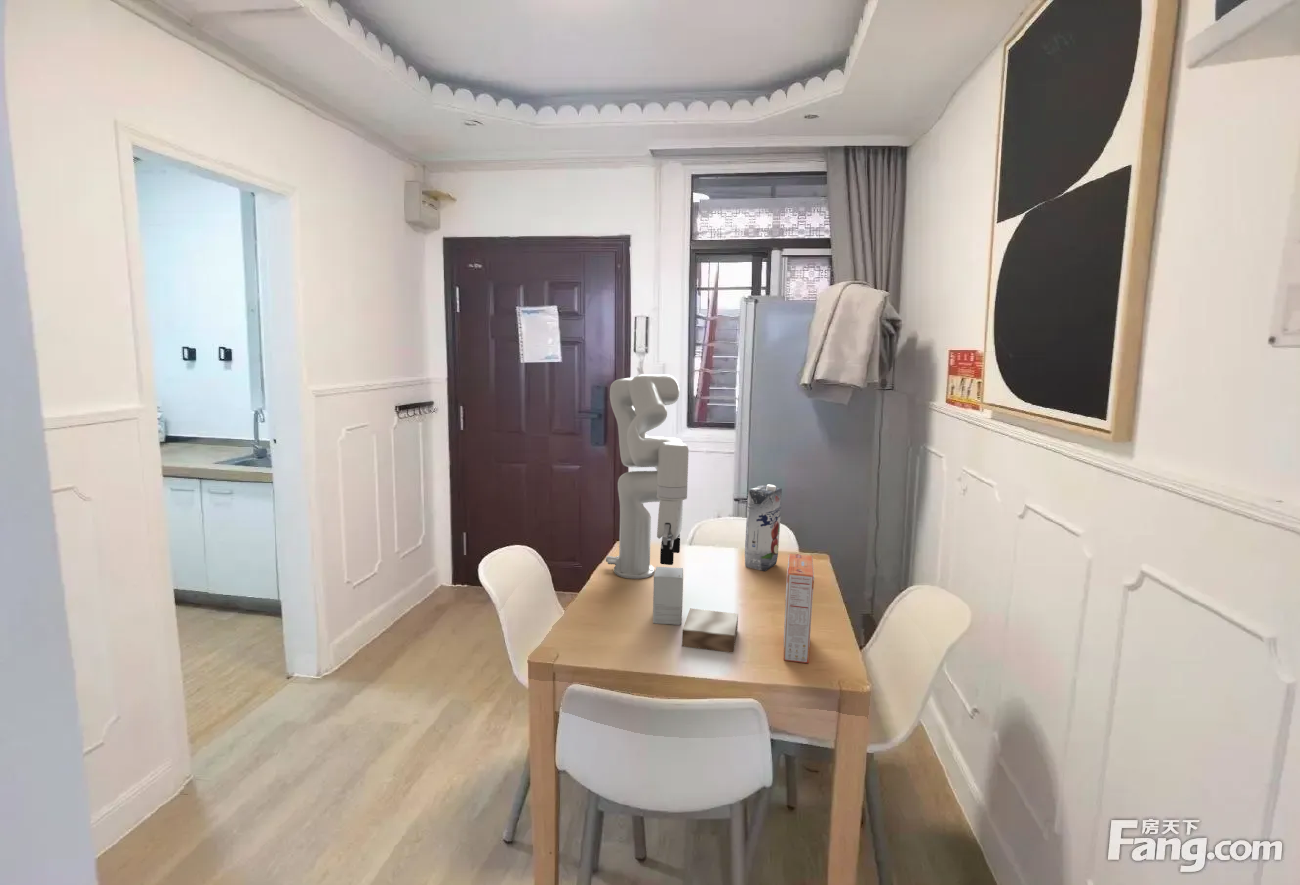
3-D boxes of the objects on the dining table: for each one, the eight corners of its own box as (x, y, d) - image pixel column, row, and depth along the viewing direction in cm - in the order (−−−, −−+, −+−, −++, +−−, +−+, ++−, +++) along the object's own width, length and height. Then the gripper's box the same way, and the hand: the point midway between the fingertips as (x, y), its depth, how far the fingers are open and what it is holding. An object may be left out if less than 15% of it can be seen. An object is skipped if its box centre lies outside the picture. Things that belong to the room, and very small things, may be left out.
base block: (681, 646, 146) (682, 629, 145) (689, 624, 158) (690, 608, 157) (733, 652, 144) (734, 635, 143) (737, 630, 155) (738, 613, 155)
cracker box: (782, 633, 154) (788, 552, 151) (808, 637, 153) (814, 555, 149) (781, 661, 140) (787, 572, 137) (809, 665, 139) (815, 575, 136)
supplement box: (682, 613, 164) (684, 567, 162) (681, 625, 157) (683, 577, 155) (654, 611, 165) (656, 565, 163) (651, 623, 157) (653, 575, 156)
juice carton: (740, 567, 200) (745, 485, 196) (755, 558, 209) (759, 479, 204) (766, 573, 195) (771, 489, 191) (780, 564, 204) (785, 483, 199)
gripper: (663, 484, 165) (662, 547, 167) (650, 498, 148) (648, 567, 150) (692, 486, 163) (689, 549, 165) (681, 500, 146) (679, 570, 149)
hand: (670, 558), depth 158 cm, fingers open, 9 cm apart
